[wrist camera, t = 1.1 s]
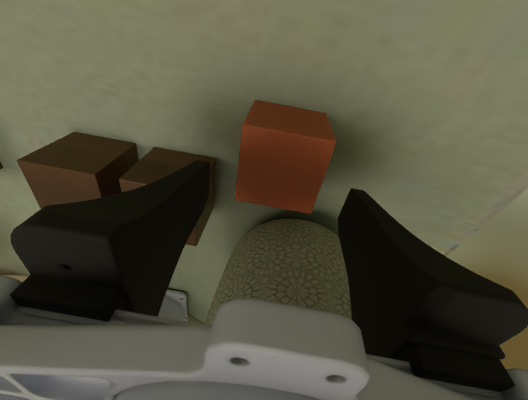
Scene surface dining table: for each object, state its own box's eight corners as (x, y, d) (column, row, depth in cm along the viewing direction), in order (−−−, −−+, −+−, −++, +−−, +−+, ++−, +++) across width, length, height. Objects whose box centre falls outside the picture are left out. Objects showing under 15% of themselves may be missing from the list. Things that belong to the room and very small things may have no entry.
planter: (216, 264, 27) (180, 378, 19) (255, 177, 20) (225, 295, 11) (315, 297, 29) (325, 415, 20) (382, 227, 22) (441, 363, 13)
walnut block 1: (144, 193, 22) (111, 231, 18) (90, 183, 22) (45, 219, 18) (135, 143, 20) (94, 174, 16) (73, 131, 19) (16, 160, 15)
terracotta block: (307, 175, 20) (311, 214, 16) (246, 164, 20) (234, 200, 16) (326, 113, 17) (336, 141, 13) (254, 99, 17) (242, 123, 13)
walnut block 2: (213, 206, 23) (196, 246, 19) (160, 196, 22) (131, 234, 18) (215, 158, 20) (195, 193, 16) (154, 146, 20) (118, 178, 16)
